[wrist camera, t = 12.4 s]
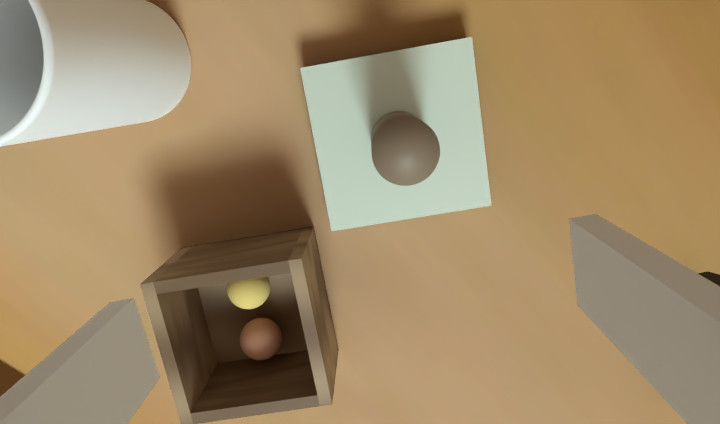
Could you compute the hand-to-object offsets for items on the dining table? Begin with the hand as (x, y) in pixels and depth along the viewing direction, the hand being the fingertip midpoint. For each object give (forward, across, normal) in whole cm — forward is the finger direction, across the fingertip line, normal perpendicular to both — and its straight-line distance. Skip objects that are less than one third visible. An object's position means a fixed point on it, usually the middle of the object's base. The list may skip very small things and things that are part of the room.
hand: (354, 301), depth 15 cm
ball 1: (+20, -9, -6) cm, 22 cm away
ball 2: (+20, -9, -10) cm, 24 cm away
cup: (+22, -14, +10) cm, 28 cm away
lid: (+21, +3, +2) cm, 21 cm away
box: (+22, -9, -8) cm, 25 cm away
